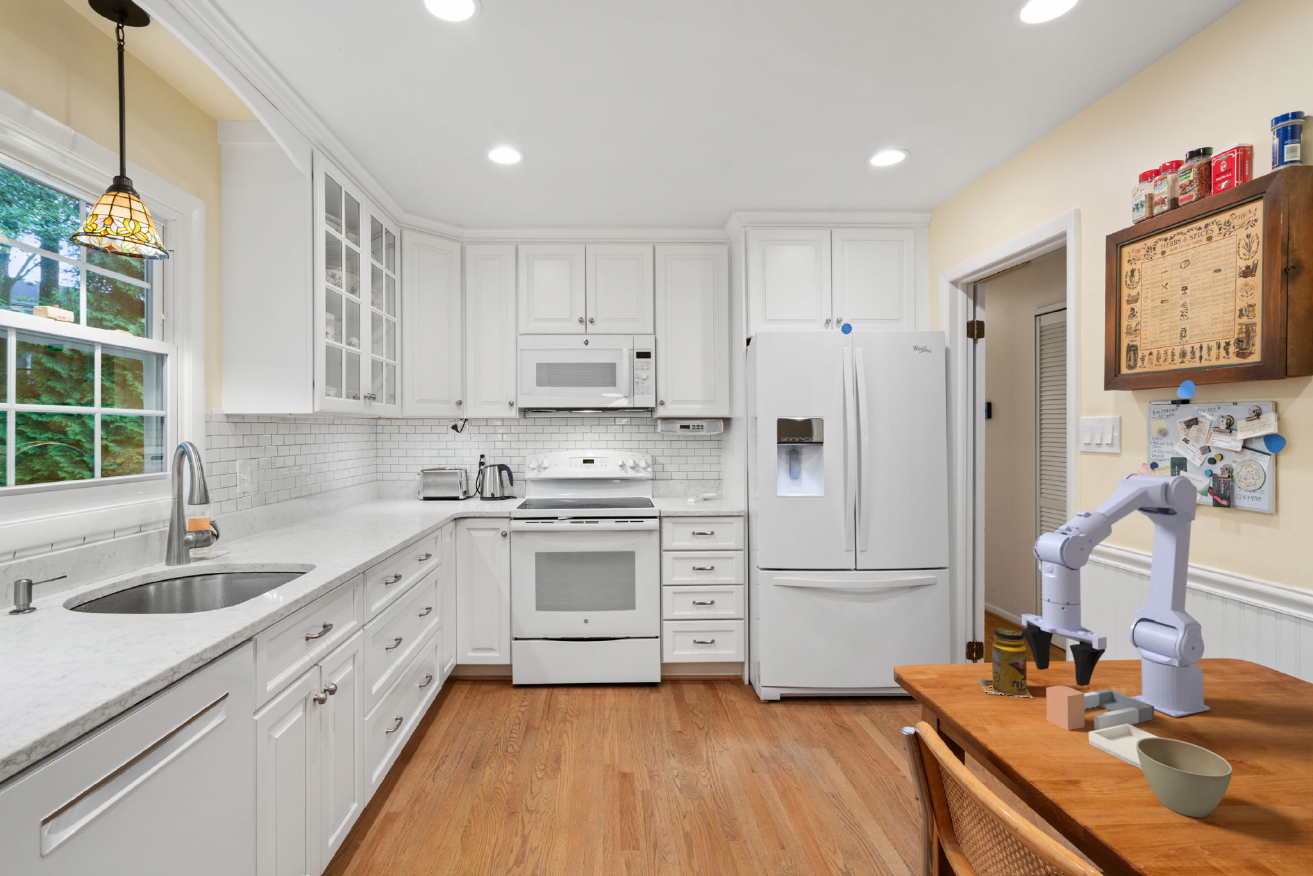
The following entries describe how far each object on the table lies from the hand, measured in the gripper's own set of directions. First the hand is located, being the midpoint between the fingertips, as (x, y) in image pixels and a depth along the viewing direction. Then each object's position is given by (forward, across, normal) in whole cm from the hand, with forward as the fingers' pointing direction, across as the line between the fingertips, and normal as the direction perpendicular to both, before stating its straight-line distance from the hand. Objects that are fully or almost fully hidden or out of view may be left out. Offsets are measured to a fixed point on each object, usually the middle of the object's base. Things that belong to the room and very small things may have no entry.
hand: (1062, 676), depth 107 cm
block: (+9, 0, +1) cm, 9 cm away
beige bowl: (+9, +23, -7) cm, 26 cm away
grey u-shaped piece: (+8, 0, +15) cm, 17 cm away
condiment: (+9, -15, +3) cm, 18 cm away
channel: (+8, 0, +8) cm, 12 cm away
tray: (+8, +11, +2) cm, 14 cm away
